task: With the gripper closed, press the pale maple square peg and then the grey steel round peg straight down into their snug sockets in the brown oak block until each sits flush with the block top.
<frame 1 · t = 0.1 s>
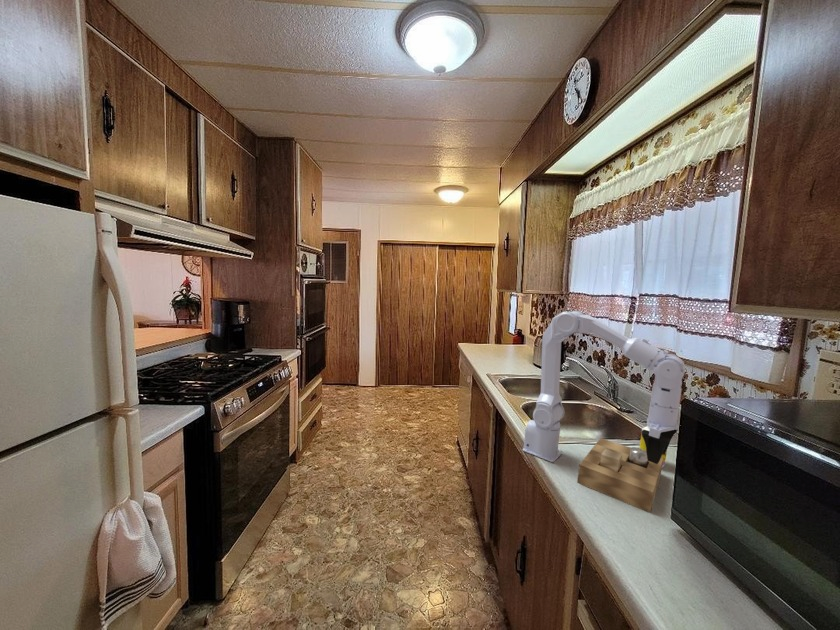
hand: (656, 456, 85), 10 cm above the countertop, fingers open, 7 cm apart
oak block: (620, 478, 92), on the countertop
supplement bottle: (650, 463, 102), on the countertop
peg steel: (637, 459, 92), point 6 cm above the countertop, slide at 0.0 cm
peg maple: (610, 463, 89), point 6 cm above the countertop, slide at 0.0 cm
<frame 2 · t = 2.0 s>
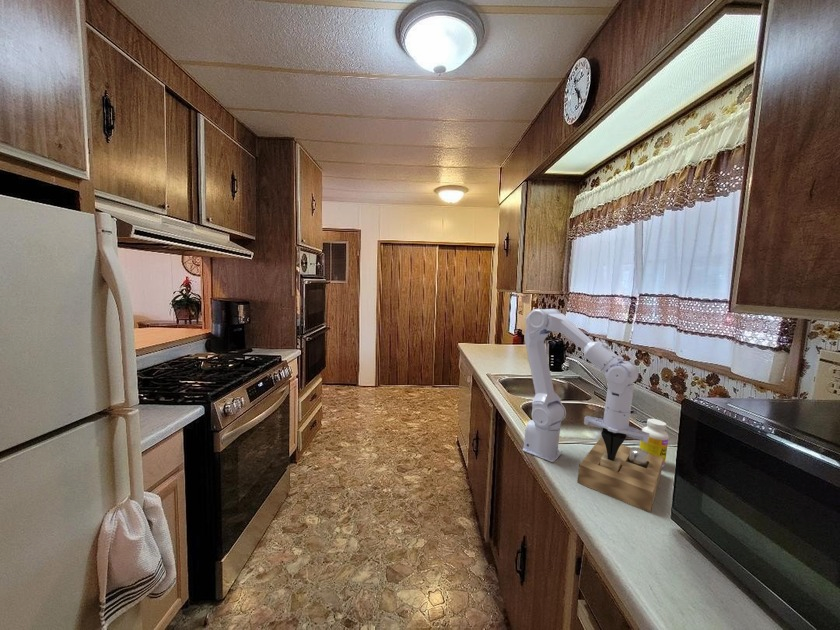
hand: (611, 458, 89), 7 cm above the countertop, fingers closed, pressing on peg maple
peg maple: (610, 467, 89), point 4 cm above the countertop, slide at 1.2 cm, touching gripper
everything else where it was.
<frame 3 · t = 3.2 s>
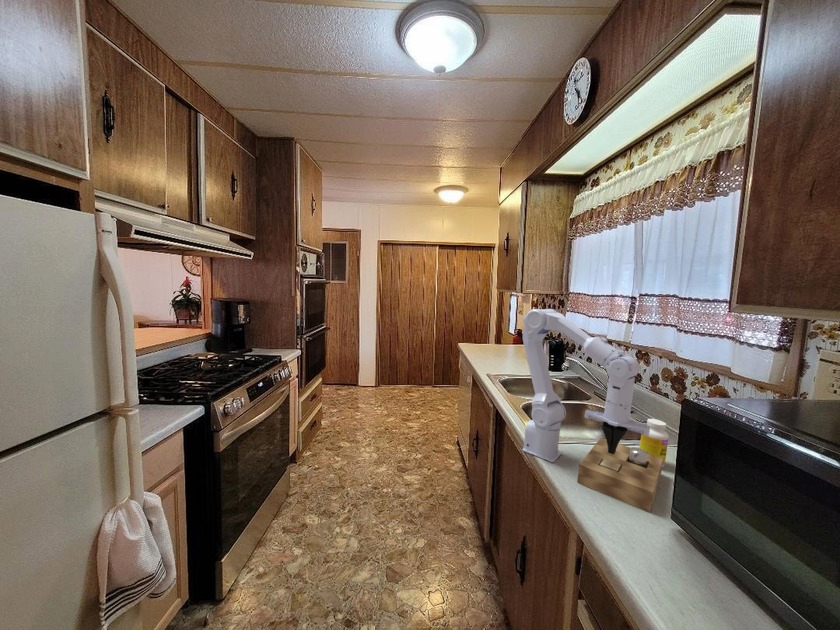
hand: (611, 452, 89), 9 cm above the countertop, fingers closed
peg maple: (609, 473, 89), point 3 cm above the countertop, slide at 2.8 cm
everything else where it was.
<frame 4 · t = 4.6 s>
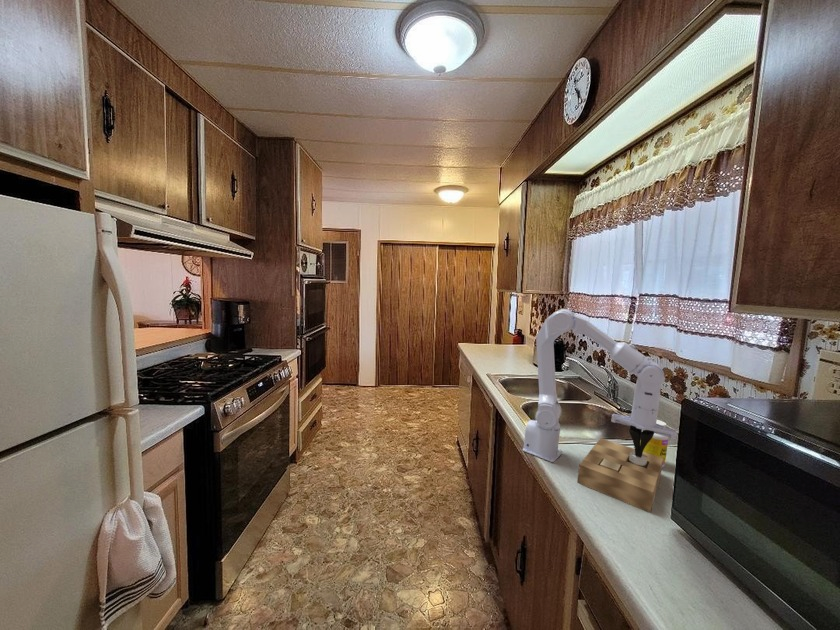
hand: (638, 455, 92), 7 cm above the countertop, fingers closed, pressing on peg steel
peg steel: (637, 463, 92), point 4 cm above the countertop, slide at 1.2 cm, touching gripper
everything else where it was.
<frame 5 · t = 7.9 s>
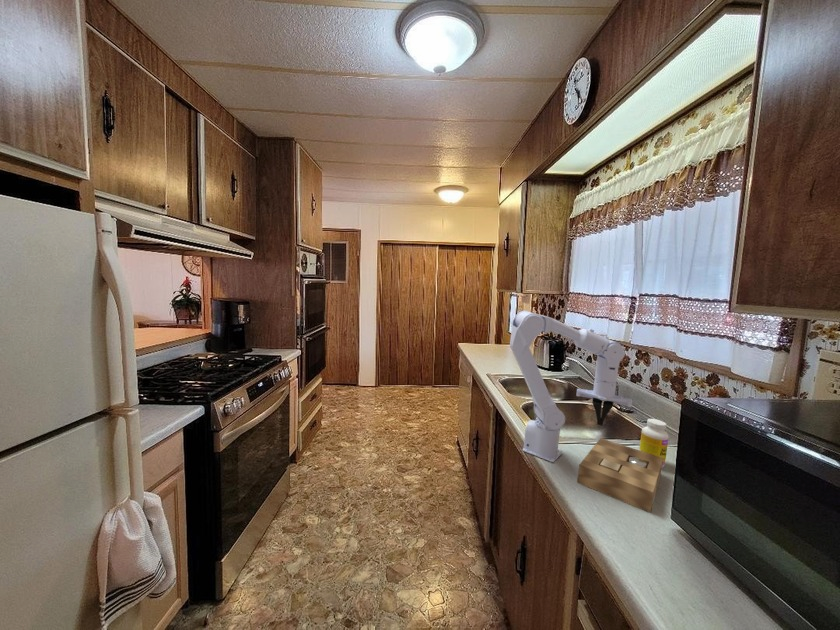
hand: (600, 424, 102), 10 cm above the countertop, fingers closed
peg steel: (636, 469, 92), point 3 cm above the countertop, slide at 2.8 cm
everything else where it was.
at the end: peg maple slide at 2.8 cm; peg steel slide at 2.8 cm; peg steel touching nothing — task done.
